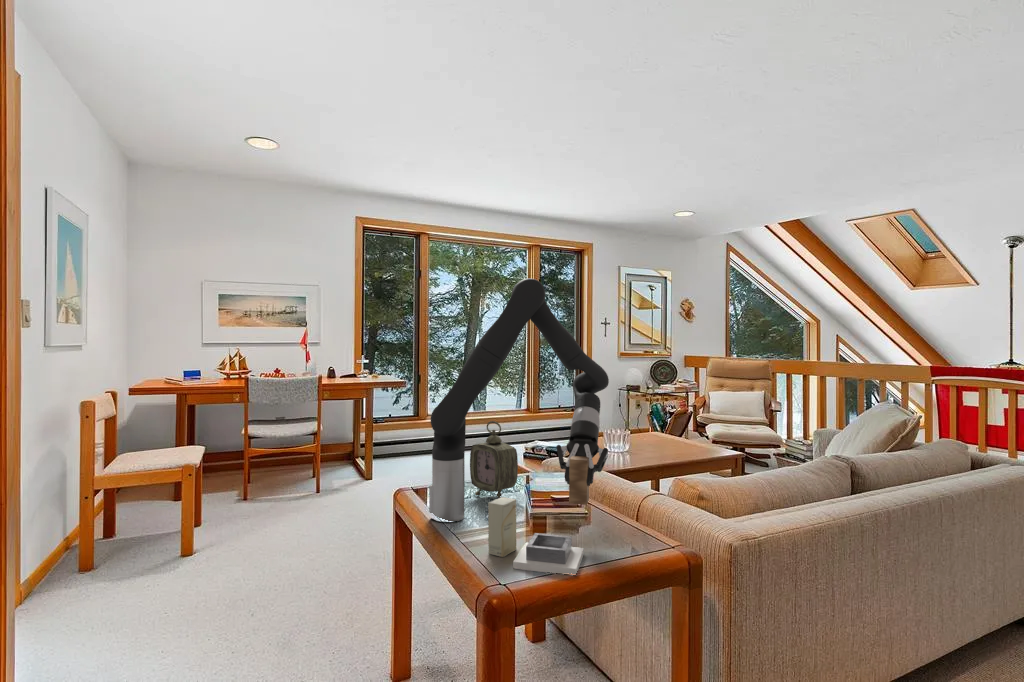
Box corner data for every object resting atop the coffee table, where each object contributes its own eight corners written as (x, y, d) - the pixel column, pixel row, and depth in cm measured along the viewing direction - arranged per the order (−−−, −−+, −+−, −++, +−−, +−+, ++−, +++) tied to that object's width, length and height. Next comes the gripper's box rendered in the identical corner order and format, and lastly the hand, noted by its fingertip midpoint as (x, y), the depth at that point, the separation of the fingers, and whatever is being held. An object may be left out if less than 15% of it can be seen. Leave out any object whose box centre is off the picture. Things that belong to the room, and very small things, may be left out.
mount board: (512, 568, 115) (512, 548, 115) (526, 548, 126) (526, 529, 126) (576, 575, 111) (576, 554, 111) (583, 554, 123) (583, 535, 123)
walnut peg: (569, 503, 130) (569, 459, 130) (571, 498, 134) (572, 455, 134) (586, 504, 128) (587, 460, 129) (588, 499, 133) (589, 456, 133)
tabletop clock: (469, 496, 171) (469, 420, 171) (490, 491, 177) (490, 417, 177) (498, 506, 160) (498, 425, 160) (520, 500, 166) (520, 422, 166)
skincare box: (503, 558, 121) (503, 505, 121) (487, 554, 123) (487, 502, 123) (517, 549, 126) (517, 498, 126) (501, 545, 128) (501, 496, 128)
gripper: (557, 417, 140) (548, 473, 129) (611, 420, 137) (606, 477, 125) (560, 434, 146) (552, 488, 134) (612, 437, 142) (608, 493, 130)
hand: (578, 483), depth 129 cm, fingers closed on walnut peg, 4 cm apart
